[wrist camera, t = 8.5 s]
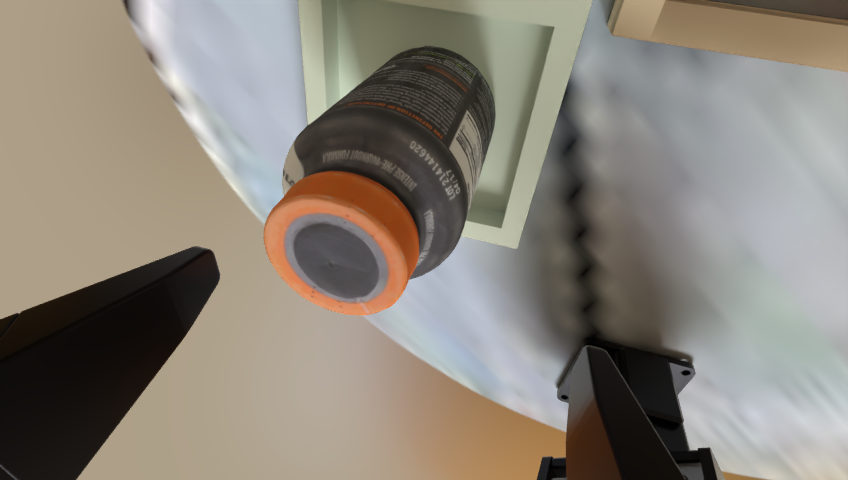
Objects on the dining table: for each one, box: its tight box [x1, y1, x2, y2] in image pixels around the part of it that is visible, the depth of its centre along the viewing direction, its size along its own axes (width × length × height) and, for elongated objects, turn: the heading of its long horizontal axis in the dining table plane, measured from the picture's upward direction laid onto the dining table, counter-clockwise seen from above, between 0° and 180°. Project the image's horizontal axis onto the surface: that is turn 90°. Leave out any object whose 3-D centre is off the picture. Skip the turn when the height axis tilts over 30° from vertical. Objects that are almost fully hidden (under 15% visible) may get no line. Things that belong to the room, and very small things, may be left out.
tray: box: [298, 0, 593, 249], centre depth 19 cm, size 11×11×2 cm
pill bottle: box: [264, 46, 496, 315], centre depth 15 cm, size 6×6×11 cm
